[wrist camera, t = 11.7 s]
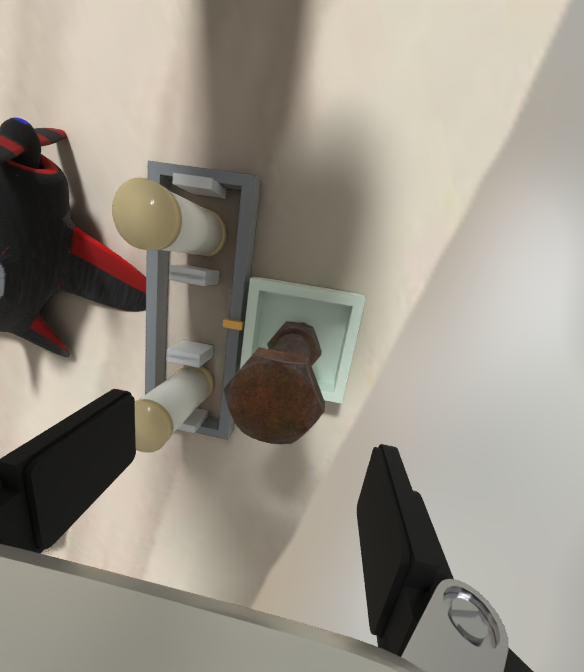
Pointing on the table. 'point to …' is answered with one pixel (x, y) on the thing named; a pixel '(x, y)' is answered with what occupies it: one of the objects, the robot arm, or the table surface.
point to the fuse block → (157, 285)
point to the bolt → (278, 387)
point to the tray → (315, 310)
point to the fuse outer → (170, 406)
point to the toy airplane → (49, 242)
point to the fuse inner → (165, 220)
